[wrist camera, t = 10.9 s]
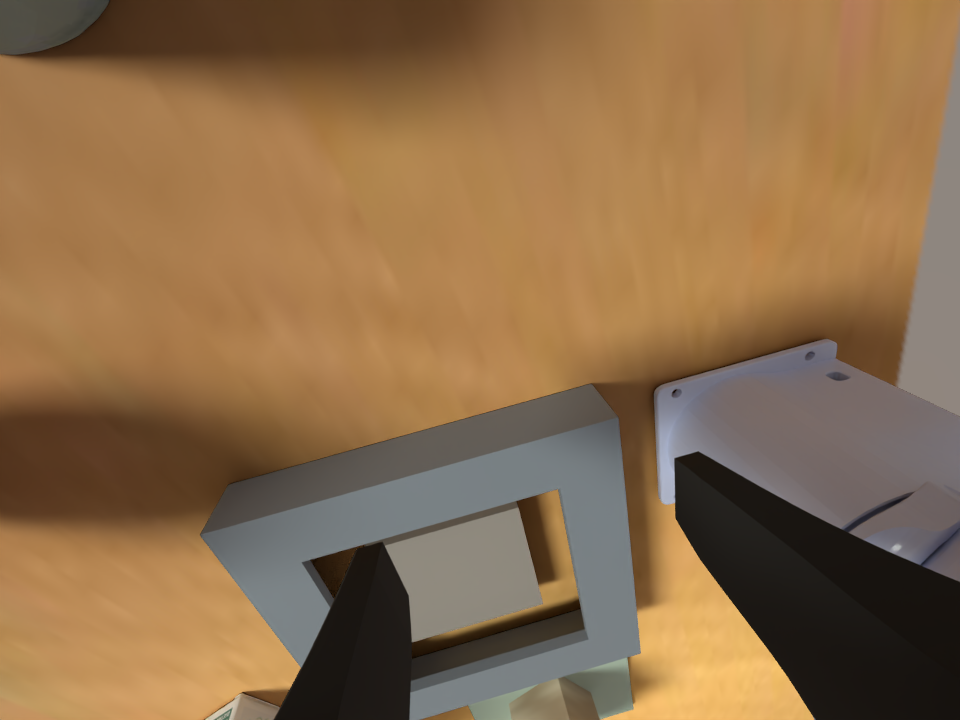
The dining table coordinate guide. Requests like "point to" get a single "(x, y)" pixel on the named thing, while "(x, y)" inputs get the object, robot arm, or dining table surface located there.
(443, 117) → the dining table surface
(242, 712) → the syrup box
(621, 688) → the zone pad
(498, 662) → the box
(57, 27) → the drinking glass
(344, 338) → the dining table surface
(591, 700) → the maple block
